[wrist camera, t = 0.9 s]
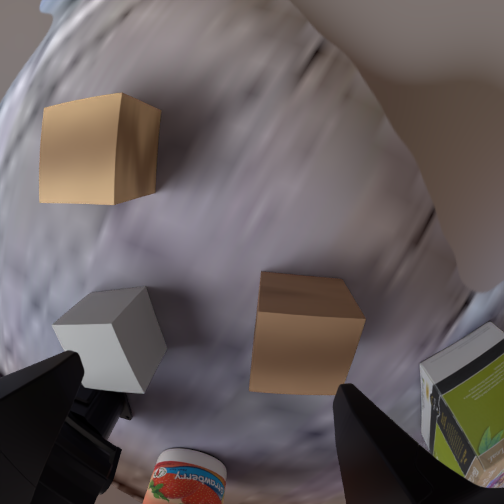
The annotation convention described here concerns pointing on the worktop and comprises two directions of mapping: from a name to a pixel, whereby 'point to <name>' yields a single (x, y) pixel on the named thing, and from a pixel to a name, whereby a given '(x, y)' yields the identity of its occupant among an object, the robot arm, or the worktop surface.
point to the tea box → (467, 406)
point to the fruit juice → (186, 479)
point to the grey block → (114, 339)
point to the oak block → (98, 150)
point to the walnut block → (303, 334)
